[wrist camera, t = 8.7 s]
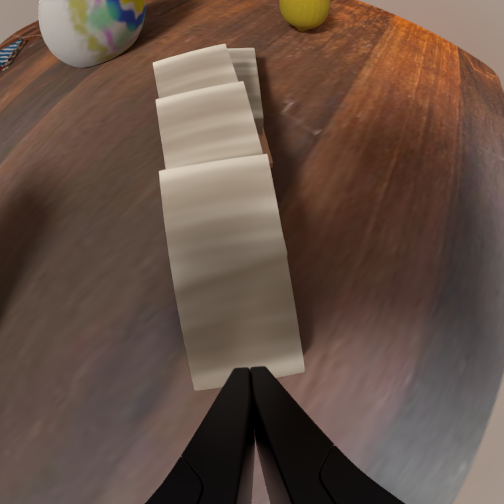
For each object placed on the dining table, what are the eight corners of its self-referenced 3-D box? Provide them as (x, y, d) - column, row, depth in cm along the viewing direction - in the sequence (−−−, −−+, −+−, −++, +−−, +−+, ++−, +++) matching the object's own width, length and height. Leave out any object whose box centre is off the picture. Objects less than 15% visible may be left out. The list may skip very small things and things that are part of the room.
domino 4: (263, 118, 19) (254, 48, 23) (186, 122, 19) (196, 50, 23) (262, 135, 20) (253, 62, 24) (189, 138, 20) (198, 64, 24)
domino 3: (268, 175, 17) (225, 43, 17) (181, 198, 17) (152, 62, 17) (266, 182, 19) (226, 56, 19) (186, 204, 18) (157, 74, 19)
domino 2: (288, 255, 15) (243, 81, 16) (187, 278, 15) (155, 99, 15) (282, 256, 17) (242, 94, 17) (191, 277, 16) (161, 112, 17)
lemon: (267, 28, 29) (270, -31, 21) (300, 20, 30) (306, -33, 23) (302, 44, 27) (310, -20, 20) (334, 36, 28) (345, -21, 21)
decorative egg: (125, 72, 25) (92, -57, 11) (40, 85, 26) (-2, -13, 12) (166, 23, 30) (153, -75, 16) (89, 35, 31) (65, -49, 17)
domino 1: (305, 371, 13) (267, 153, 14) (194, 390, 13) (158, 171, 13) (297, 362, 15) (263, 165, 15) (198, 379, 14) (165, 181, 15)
